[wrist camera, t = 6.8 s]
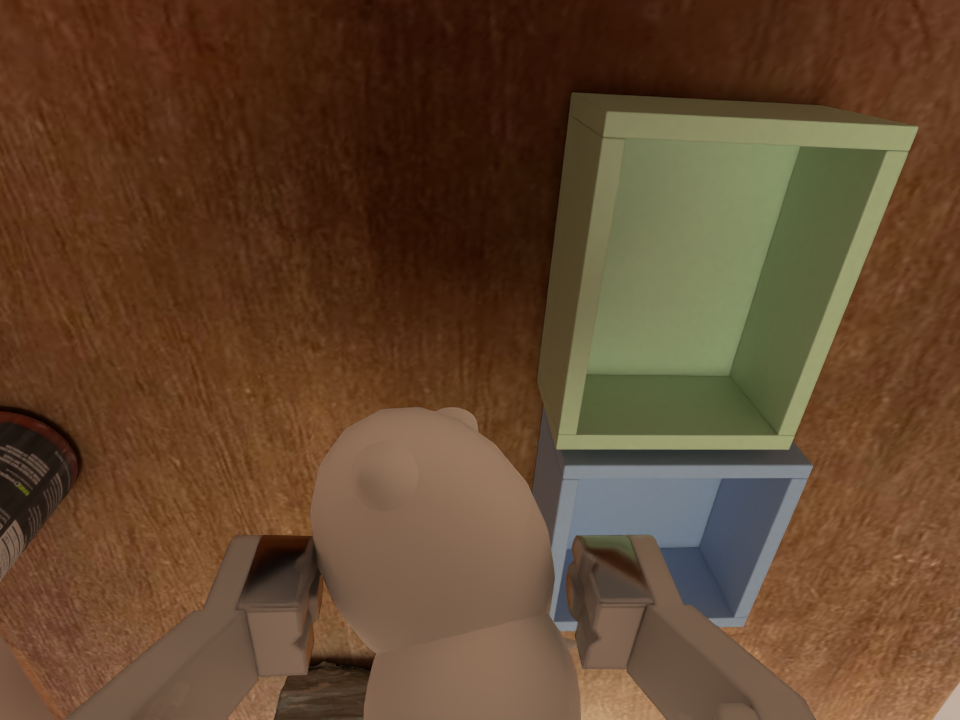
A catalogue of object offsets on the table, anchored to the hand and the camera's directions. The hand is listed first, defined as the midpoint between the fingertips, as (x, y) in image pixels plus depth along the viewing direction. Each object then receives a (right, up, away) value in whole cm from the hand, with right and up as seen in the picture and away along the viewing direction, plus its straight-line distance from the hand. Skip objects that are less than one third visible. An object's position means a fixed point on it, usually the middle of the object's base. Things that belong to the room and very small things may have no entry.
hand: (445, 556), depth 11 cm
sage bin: (+9, +9, +16) cm, 20 cm away
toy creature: (0, +1, +2) cm, 2 cm away
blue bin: (+10, -3, +23) cm, 25 cm away
